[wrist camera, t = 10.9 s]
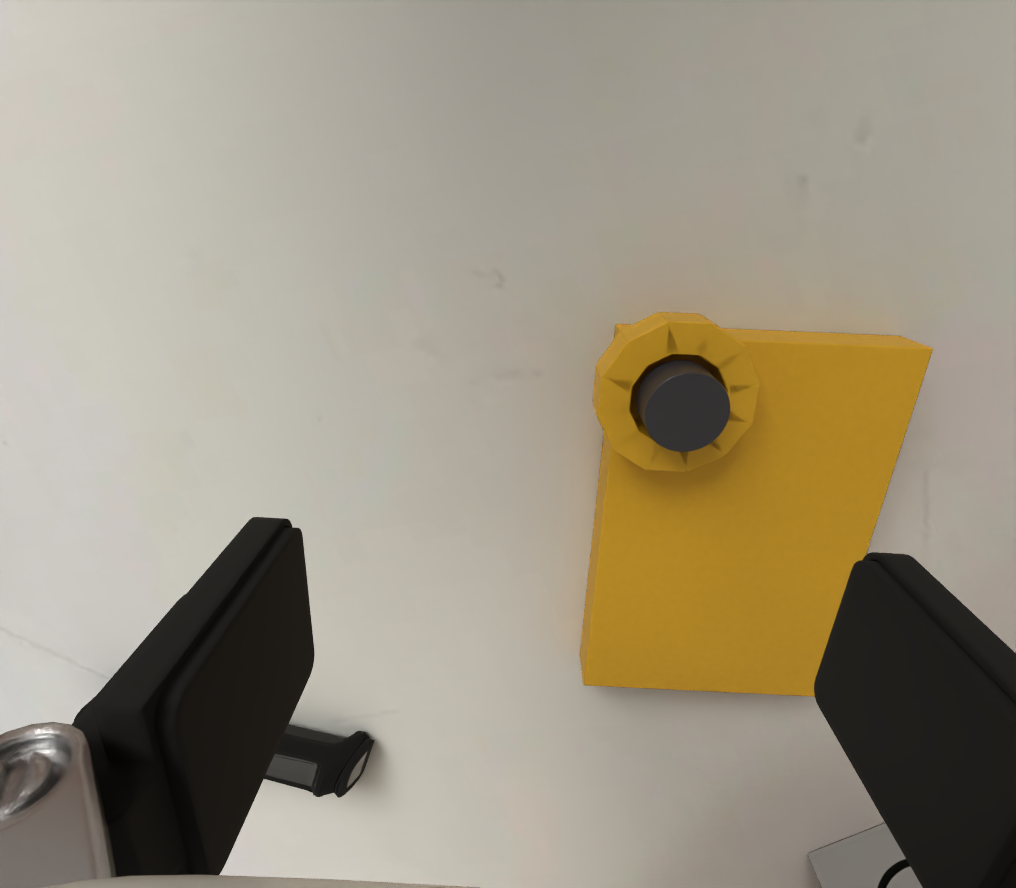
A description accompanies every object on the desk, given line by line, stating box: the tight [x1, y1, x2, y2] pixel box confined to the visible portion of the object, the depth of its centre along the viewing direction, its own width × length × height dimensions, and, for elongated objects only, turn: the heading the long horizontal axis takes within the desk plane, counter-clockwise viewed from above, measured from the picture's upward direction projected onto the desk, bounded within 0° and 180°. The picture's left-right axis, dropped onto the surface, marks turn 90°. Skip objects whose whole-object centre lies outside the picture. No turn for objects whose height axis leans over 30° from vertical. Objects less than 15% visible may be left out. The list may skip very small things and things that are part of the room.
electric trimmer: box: [74, 696, 375, 797], centre depth 33 cm, size 4×16×3 cm, turn 71°
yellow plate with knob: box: [580, 312, 933, 696], centre depth 26 cm, size 19×13×4 cm
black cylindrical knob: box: [636, 360, 730, 452], centre depth 22 cm, size 3×3×2 cm
